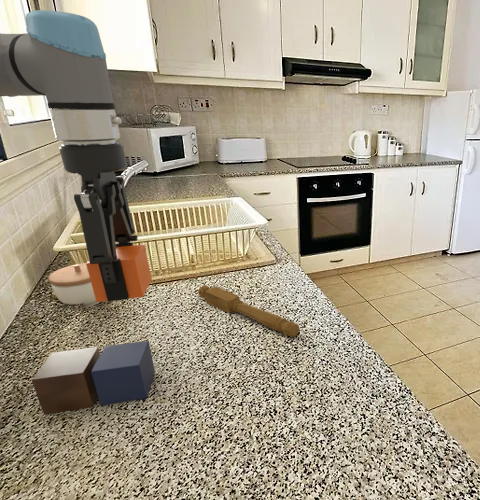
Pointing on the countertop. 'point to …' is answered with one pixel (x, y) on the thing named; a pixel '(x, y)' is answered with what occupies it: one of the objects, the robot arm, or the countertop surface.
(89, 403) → the walnut block
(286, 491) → the countertop surface
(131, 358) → the navy block
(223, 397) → the countertop surface
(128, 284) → the orange block
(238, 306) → the tap handle
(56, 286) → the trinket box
